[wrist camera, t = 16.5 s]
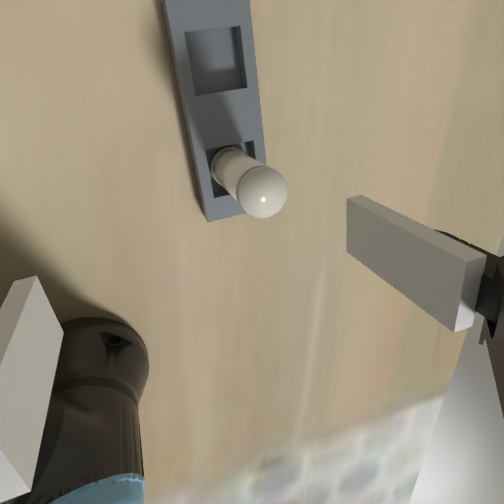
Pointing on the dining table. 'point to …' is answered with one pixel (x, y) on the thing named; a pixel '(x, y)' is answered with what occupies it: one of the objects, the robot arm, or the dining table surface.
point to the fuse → (249, 181)
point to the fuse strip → (216, 88)
